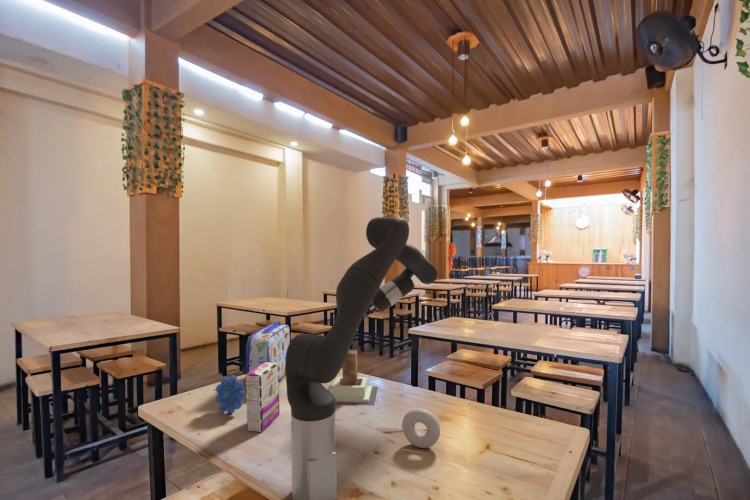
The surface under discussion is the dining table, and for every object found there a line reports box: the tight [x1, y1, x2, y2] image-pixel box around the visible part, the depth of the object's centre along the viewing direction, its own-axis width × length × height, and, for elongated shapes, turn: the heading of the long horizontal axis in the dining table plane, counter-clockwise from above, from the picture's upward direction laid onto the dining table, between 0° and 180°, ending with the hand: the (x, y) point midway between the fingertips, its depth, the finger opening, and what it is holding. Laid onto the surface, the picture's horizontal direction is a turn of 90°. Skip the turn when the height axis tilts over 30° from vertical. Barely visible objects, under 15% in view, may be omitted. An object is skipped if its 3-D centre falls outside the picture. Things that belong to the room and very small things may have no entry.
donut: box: [401, 407, 441, 449], centre depth 95 cm, size 10×4×10 cm, turn 69°
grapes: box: [215, 375, 246, 414], centre depth 117 cm, size 12×7×12 cm, turn 66°
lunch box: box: [244, 321, 291, 385], centre depth 143 cm, size 28×10×22 cm, turn 176°
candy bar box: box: [245, 362, 281, 433], centre depth 109 cm, size 11×5×16 cm, turn 168°
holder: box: [331, 376, 373, 403], centre depth 128 cm, size 14×12×4 cm
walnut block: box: [342, 349, 358, 386], centre depth 128 cm, size 4×4×14 cm
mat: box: [327, 384, 379, 407], centre depth 128 cm, size 18×16×1 cm
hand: (347, 323), depth 124 cm, fingers open, 8 cm apart
